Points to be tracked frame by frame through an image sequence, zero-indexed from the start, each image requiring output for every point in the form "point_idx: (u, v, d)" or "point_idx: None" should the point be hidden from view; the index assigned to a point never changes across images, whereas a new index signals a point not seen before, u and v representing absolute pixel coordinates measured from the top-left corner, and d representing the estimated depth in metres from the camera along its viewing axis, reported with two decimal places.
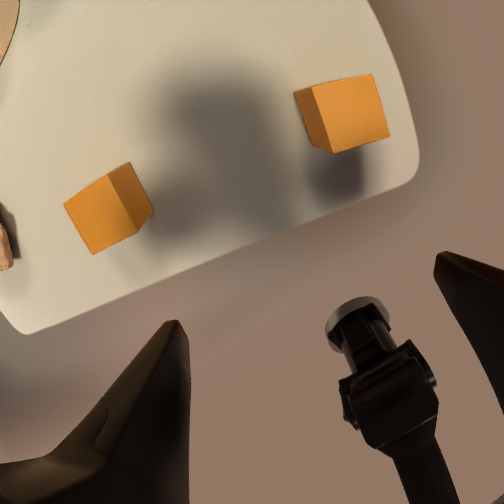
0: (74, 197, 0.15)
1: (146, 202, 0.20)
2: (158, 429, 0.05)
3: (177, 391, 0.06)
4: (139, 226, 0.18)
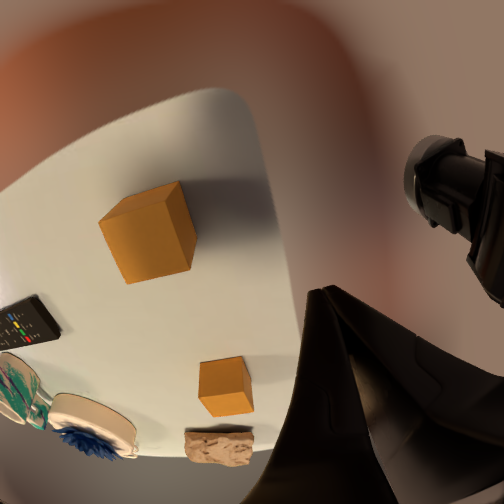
0: (210, 412, 0.24)
1: (232, 362, 0.26)
2: None
3: None
4: (241, 386, 0.23)
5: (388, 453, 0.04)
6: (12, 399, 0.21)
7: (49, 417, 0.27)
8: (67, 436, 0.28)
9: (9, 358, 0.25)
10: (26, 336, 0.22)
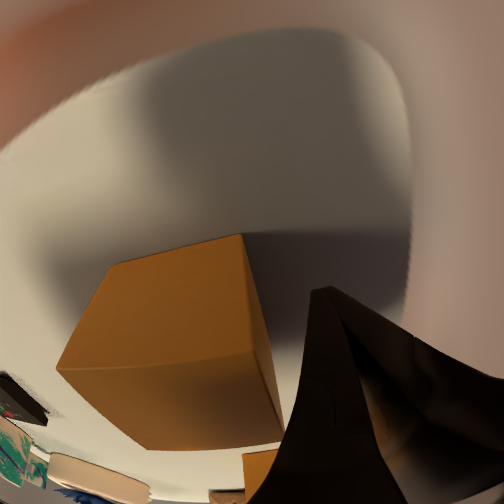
0: None
1: None
2: None
3: None
4: None
5: (385, 454, 0.04)
6: (3, 467, 0.11)
7: (48, 477, 0.18)
8: (71, 495, 0.18)
9: None
10: (6, 411, 0.13)
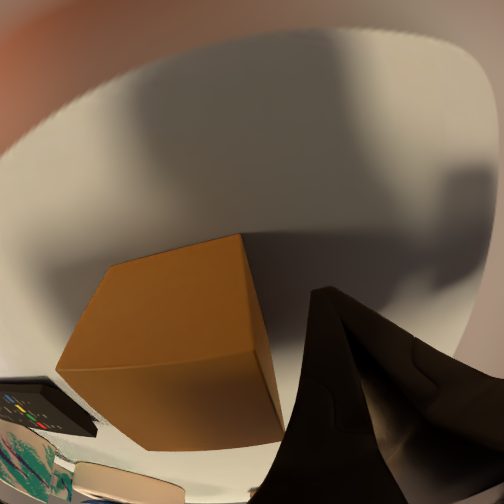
0: None
1: None
2: None
3: None
4: None
5: (385, 454, 0.04)
6: (27, 482, 0.11)
7: (74, 488, 0.17)
8: None
9: (12, 427, 0.15)
10: (38, 422, 0.12)
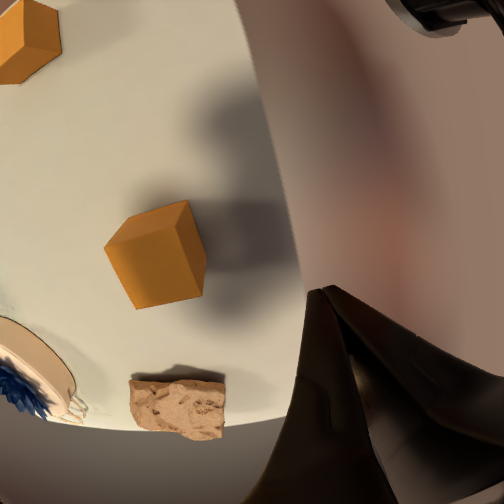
0: (128, 293, 0.15)
1: (171, 206, 0.17)
2: None
3: None
4: (174, 222, 0.14)
5: (388, 453, 0.04)
6: None
7: None
8: None
9: None
10: None
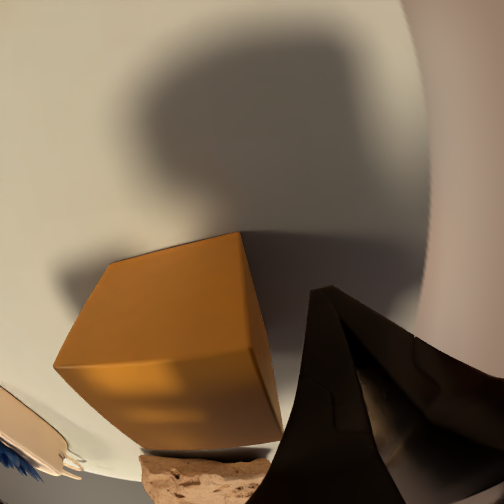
0: (126, 433, 0.06)
1: (206, 246, 0.08)
2: None
3: None
4: (238, 322, 0.05)
5: (386, 454, 0.04)
6: None
7: None
8: None
9: None
10: None
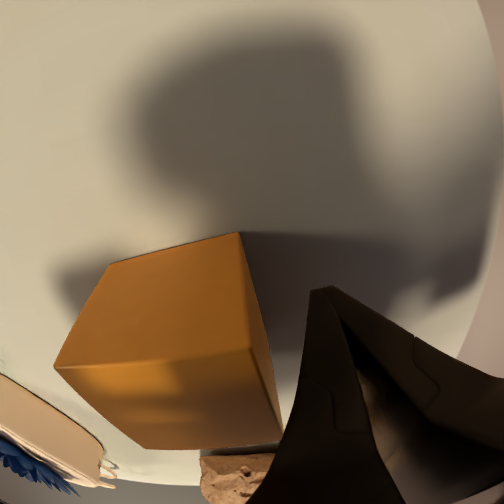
0: (126, 433, 0.06)
1: (205, 247, 0.08)
2: None
3: None
4: (238, 322, 0.05)
5: (386, 454, 0.04)
6: None
7: None
8: None
9: None
10: None
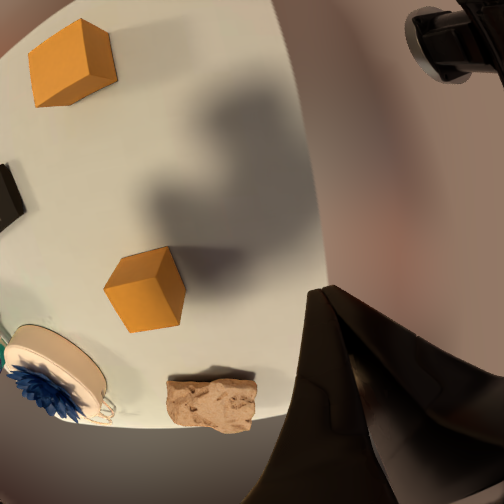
0: (123, 321, 0.19)
1: (155, 252, 0.21)
2: None
3: None
4: (155, 272, 0.18)
5: (388, 453, 0.04)
6: None
7: (5, 358, 0.22)
8: (24, 384, 0.22)
9: None
10: None
